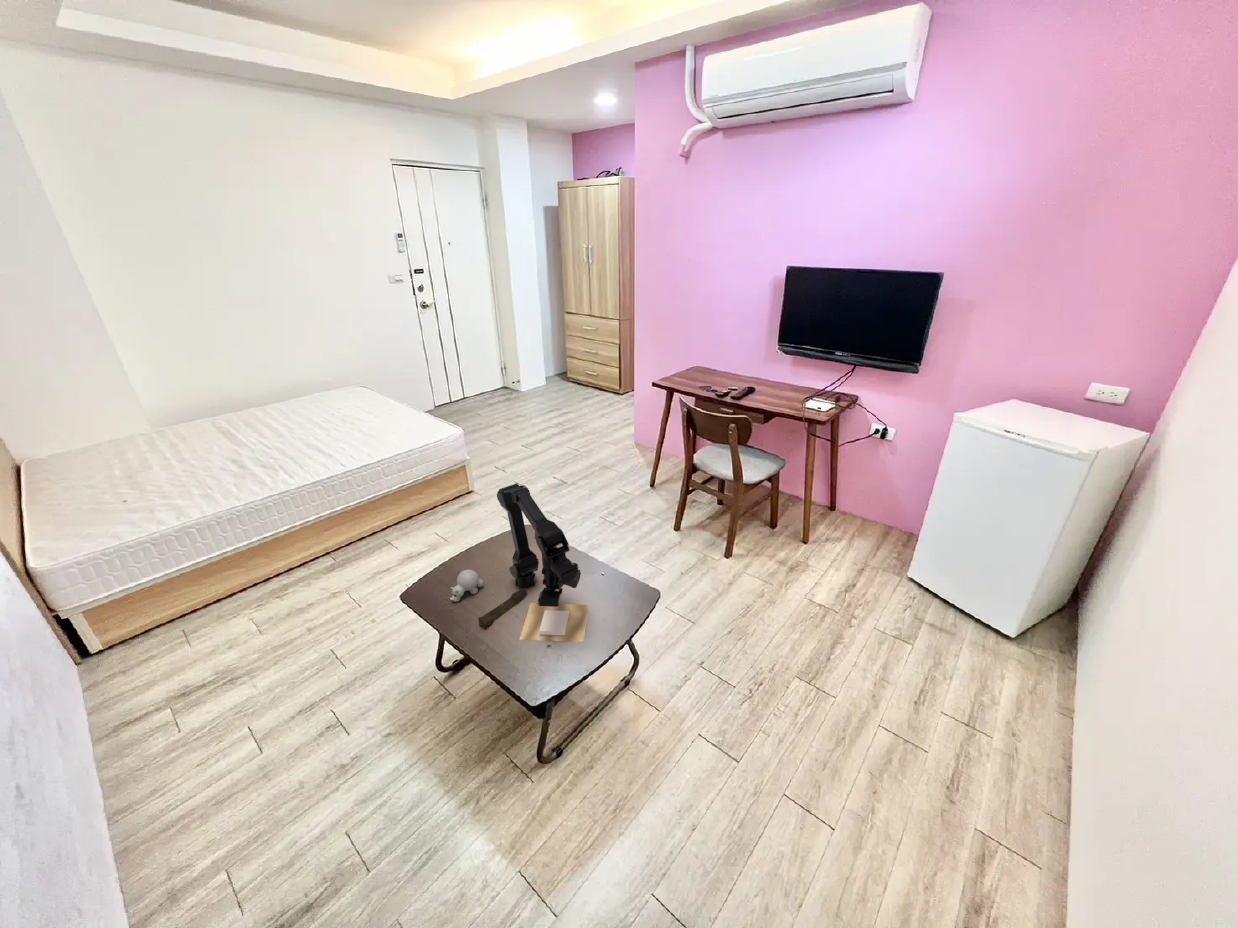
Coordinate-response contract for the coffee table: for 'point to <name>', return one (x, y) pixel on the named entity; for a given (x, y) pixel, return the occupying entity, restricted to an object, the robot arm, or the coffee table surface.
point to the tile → (554, 623)
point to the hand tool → (502, 608)
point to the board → (574, 625)
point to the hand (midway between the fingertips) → (555, 602)
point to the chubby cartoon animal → (466, 584)
